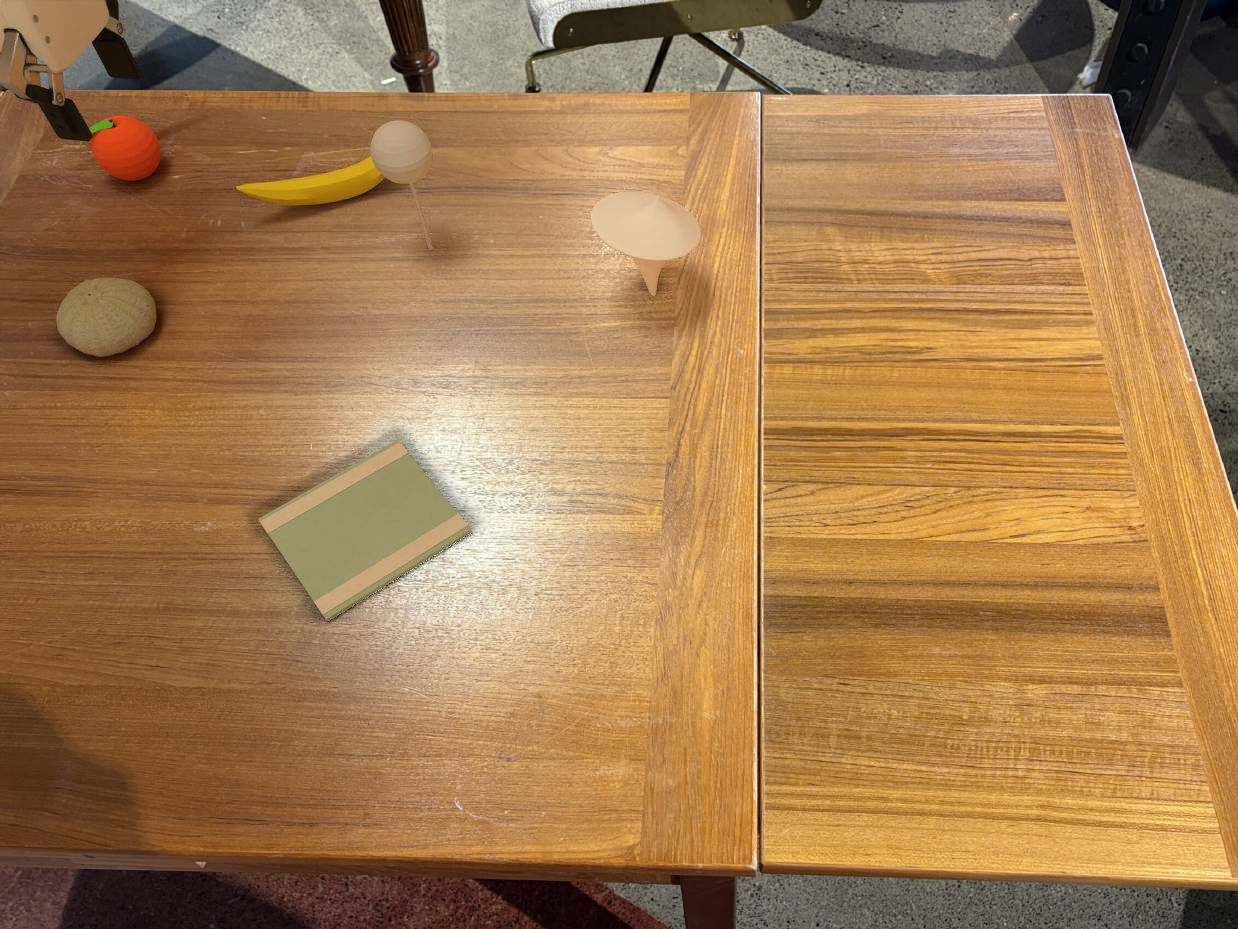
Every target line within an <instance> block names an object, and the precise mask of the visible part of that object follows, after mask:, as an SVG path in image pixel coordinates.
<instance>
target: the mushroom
mask: <svg viewBox="0 0 1238 929" xmlns="http://www.w3.org/2000/svg"><path fill="white" fill-rule="evenodd" d="M590 224H591V227H592V229H593V231H594V233H595V234H596V236H597V237H598V239H600V240H601V241H602V242H603V243H604V244H605V245H607V246H608V247H609V248H611V249H612V250H614V251H616V252H619V253H621V254H623V255H626V256H629V257H630V258H631V259H632V260H633V262H634V263H635V265H636V267H637V268H638V270H639V273H640V274H641V276H642V278H643V281H644V283H645V286H646V288H647V290H648V293H649V295H651V297H656V295H657V291H658V290H657V289H658V281H659V276H660V273H661V271H662V269H663V267H664V265H665V264H666V263H667V261H672V260H676V259H679V258H682V257H685V256H687V255H689V254H690V253H692V252H693V251H694V250H695V249H696V248H697V246H698V245H699V243H700V241H701V237H702V236H701V235H702V234H701V228H700V225H699V223H698V221H697V219H696V218H695V217H694V215H693V214H692V213H691V212H690V211H689V210H688V209H687V208H685V207H684V206H683V205H681V204H679V203H677V202H676V201H674V200H672V199H670V198H668V197H666V196H665V197H664V196H662V195H658V194H655V193H651V192H645V191H635V190H634V191H633V190H631V191H630V190H629V191H621V192H615V193H611V194H609V195H607V196H605V197H603V198H601V199H600V200H598V202H597V203H595V205H594V206H593V208H592V209H591V213H590Z"/></svg>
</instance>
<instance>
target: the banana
mask: <svg viewBox="0 0 1238 929" xmlns="http://www.w3.org/2000/svg"><path fill="white" fill-rule="evenodd" d="M384 179H386V178H385V177H384V176H383V175H382V174H381V173H380V172H379V171H378V170H377V168H376V167H375V165H374V163H373V161H372V156H371V155H369V156H368V157H367V158H365V159H363V160H362V161H359V162H358V163H357V162H356V163H355V164H352V165H350V166H347V167H346V166H345V167H344V168H340V169H338V170H337V169H336V170H332V171H329V172H324V173H318V174H313V175H308V176H303V177H296V178H288V179H281V180H276V181H275V180H273V181H267V182H254V183H244V184H241V185H236V186H234V188H235V190H237V191H239V192H241V193H243V194H245V195H246V196H249V197H252V198H255V199H257V200H260V201H264V202H268V203H271V204H274V205H275V204H276V205H284V206H308V205H309V206H310V205H322V204H328V203H335V202H339V201H340V202H341V201H344V200H348V199H352V198H355V197H357V196H359V195H363V194H364V193H366V192H368V191H370V190H372V189H373V188H375V187H376V186H378V185H379V184H380V183H381V182H382V181H383V180H384Z"/></svg>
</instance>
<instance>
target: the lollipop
mask: <svg viewBox="0 0 1238 929" xmlns="http://www.w3.org/2000/svg"><path fill="white" fill-rule="evenodd" d="M369 152H370V156H372V161H373V163H374V165H375V167H376V168H377V170H378V171H379V172H380V173H381V174H382V175H383V176H384V177H385V178H384V179H387V180H389V181H391V182H392V183H396V184H400V185H409V188H410V192H411V195H412V198H413V202H414V205H415V208H416V211H417V215H418V218H419V221H420V225H421V228H422V232H423V234H424V238H425V241H426V244H427V248H428V250H429V251H433V250H434V247H433V243H432V240H431V237H430V234H429V229H428V226H427V224H426V220H425V216H424V213H423V210H422V206H421V203H420V201H419V200H420V199H419V196H418V193H417V190H416V186H415V183H417V182H418V181H421V180H422V179H423V178H425V176H426V175H427V174H428V172H429V171H430V169H431V167H432V164H433V157H434V151H433V146H432V142H431V141H430V139H429V137H428V135H427V134H426V132H424V131H423V129H422V128H420V127H419V126H418V125H416V124H414V123H412V122H410V121H407V120H401V119H396V120H391V121H388V122H385V123H383V124H382V125H380V127H378V128H377V130H376V131H375V132H374V134H373V136H372V139H371V142H370V151H369Z"/></svg>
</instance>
